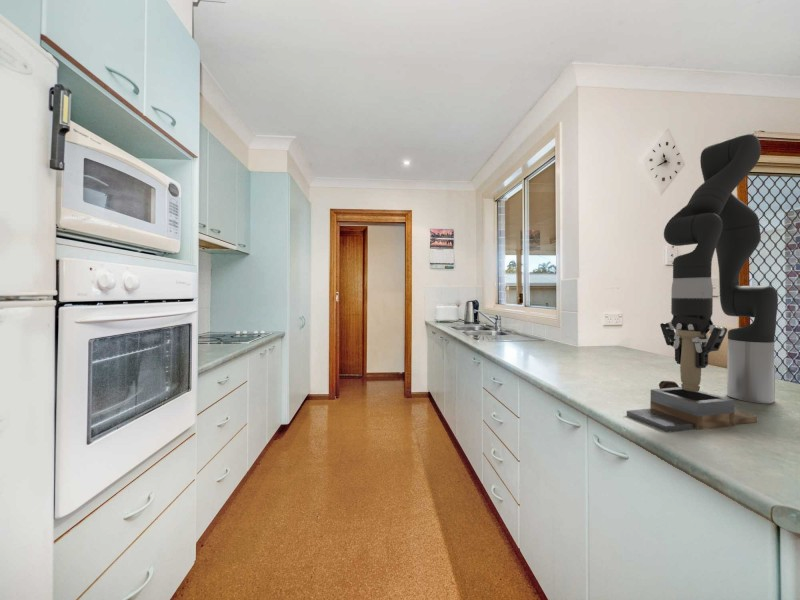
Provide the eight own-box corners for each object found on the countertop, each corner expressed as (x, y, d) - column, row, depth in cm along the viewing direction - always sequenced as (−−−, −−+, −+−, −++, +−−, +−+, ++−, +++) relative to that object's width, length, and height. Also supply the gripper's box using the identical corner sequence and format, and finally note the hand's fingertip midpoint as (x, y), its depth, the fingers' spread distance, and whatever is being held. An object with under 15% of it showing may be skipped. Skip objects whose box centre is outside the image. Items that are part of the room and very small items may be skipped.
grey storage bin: (683, 408, 85) (684, 386, 85) (734, 425, 75) (734, 400, 74) (624, 414, 82) (625, 391, 81) (668, 432, 71) (669, 406, 71)
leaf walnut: (707, 406, 87) (707, 395, 87) (759, 422, 76) (760, 410, 76) (650, 412, 83) (650, 400, 83) (697, 429, 72) (697, 416, 72)
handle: (704, 389, 79) (704, 329, 79) (703, 395, 75) (704, 332, 75) (678, 385, 83) (678, 328, 82) (676, 391, 78) (676, 330, 78)
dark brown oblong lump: (667, 397, 101) (687, 412, 87) (650, 388, 102) (667, 400, 89) (679, 382, 100) (701, 394, 86) (661, 373, 101) (680, 383, 88)
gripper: (738, 296, 72) (737, 371, 72) (673, 296, 86) (673, 359, 86) (713, 296, 71) (712, 373, 71) (650, 296, 85) (650, 360, 85)
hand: (690, 365), depth 79 cm, fingers closed on handle, 4 cm apart
